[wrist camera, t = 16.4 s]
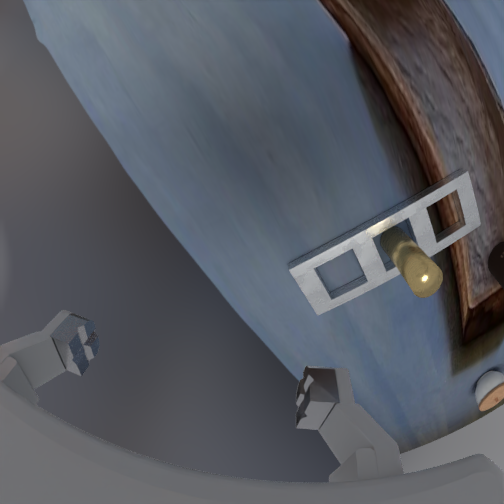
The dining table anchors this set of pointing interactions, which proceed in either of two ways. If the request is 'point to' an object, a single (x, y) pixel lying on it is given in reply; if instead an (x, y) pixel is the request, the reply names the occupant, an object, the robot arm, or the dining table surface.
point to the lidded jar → (489, 390)
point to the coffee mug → (497, 263)
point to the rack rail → (364, 233)
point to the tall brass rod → (411, 262)
